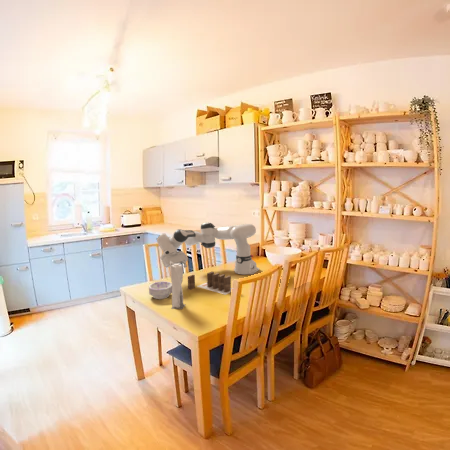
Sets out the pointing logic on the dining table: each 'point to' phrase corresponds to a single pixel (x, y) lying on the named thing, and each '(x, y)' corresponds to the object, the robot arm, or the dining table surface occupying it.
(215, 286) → the domino
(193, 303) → the dining table surface
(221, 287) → the domino
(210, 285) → the domino
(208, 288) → the board
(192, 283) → the domino
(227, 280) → the domino
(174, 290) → the skyscraper
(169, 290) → the paper bowls
